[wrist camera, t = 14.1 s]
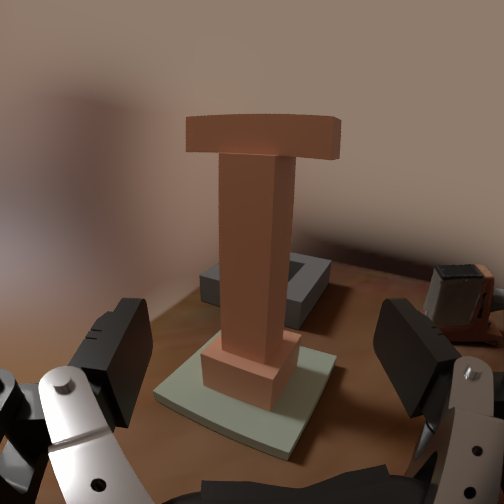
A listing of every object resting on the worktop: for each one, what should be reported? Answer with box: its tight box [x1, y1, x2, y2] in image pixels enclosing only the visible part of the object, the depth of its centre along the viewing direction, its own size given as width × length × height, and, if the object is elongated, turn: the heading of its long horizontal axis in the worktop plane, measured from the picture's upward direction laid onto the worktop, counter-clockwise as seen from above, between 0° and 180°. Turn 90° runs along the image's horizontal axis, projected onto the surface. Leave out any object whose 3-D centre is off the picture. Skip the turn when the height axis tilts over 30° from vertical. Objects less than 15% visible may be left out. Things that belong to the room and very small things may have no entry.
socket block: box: [200, 252, 332, 330], centre depth 35 cm, size 11×11×3 cm
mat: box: [153, 330, 337, 461], centre depth 21 cm, size 10×10×1 cm
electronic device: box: [421, 264, 504, 346], centre depth 25 cm, size 4×10×8 cm, turn 73°
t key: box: [186, 114, 341, 412], centre depth 18 cm, size 8×5×17 cm, turn 63°
